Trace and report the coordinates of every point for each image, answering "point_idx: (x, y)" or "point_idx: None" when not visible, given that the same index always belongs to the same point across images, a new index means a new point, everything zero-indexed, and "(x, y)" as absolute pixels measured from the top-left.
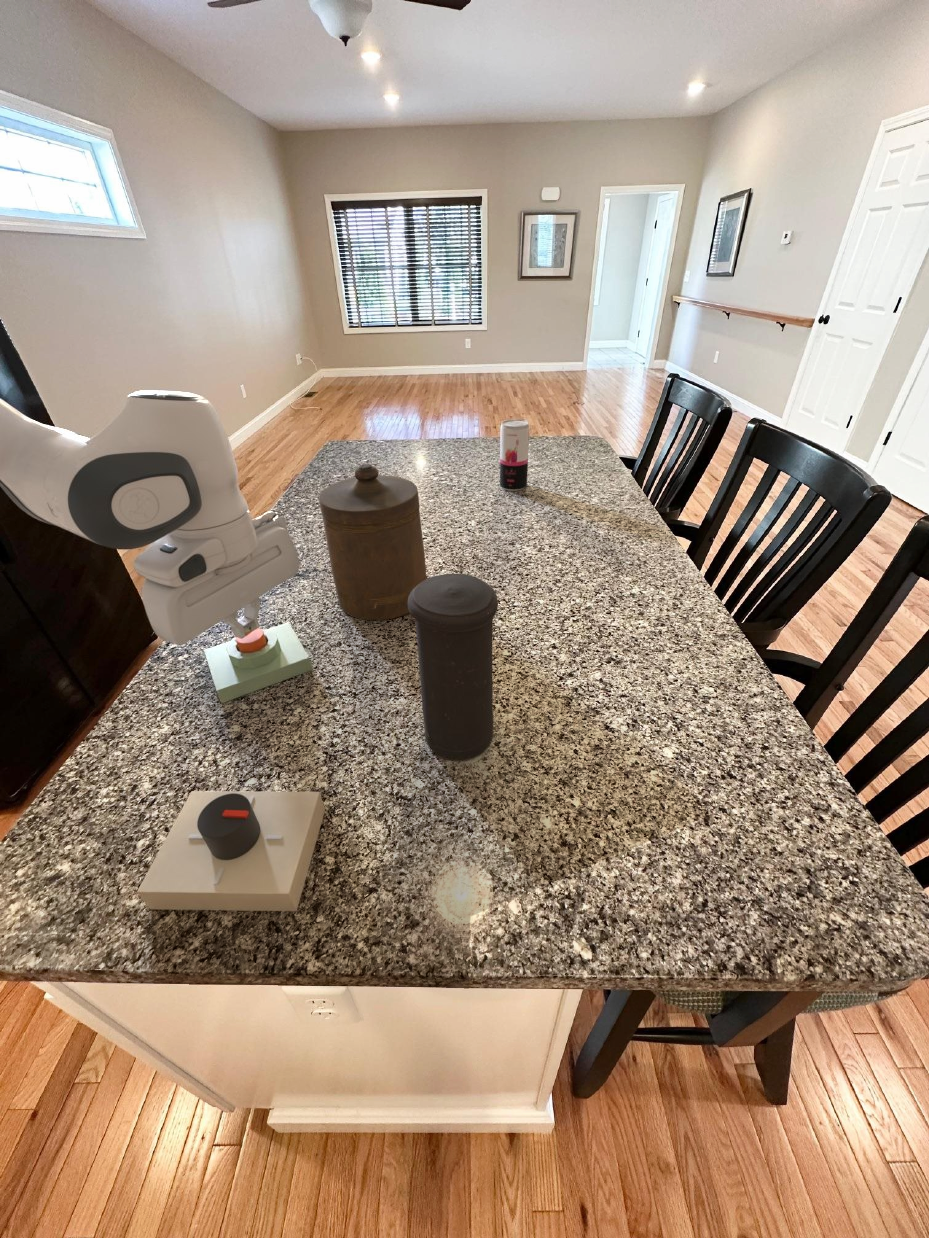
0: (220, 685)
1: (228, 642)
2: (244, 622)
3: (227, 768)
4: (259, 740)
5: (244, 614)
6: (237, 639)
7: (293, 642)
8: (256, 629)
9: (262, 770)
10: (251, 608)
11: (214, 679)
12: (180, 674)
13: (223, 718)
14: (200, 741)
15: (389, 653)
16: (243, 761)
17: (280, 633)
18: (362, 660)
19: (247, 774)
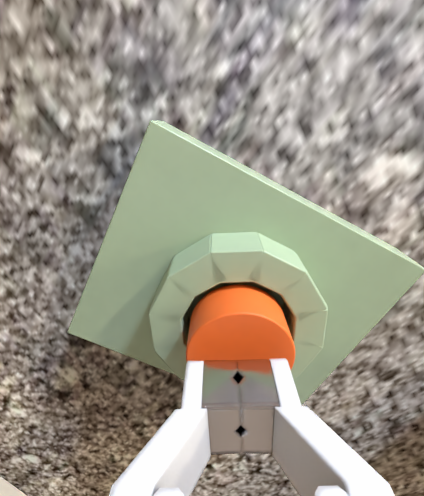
0: (85, 325)
1: (233, 173)
2: (234, 439)
3: (15, 422)
4: (84, 422)
5: (281, 418)
6: (195, 344)
7: (327, 353)
8: (282, 353)
9: (54, 458)
10: (313, 493)
11: (87, 293)
12: (66, 89)
13: (66, 340)
14: (3, 350)
15: (388, 461)
16: (41, 430)
17: (354, 294)
18: (349, 437)
19: (34, 448)
